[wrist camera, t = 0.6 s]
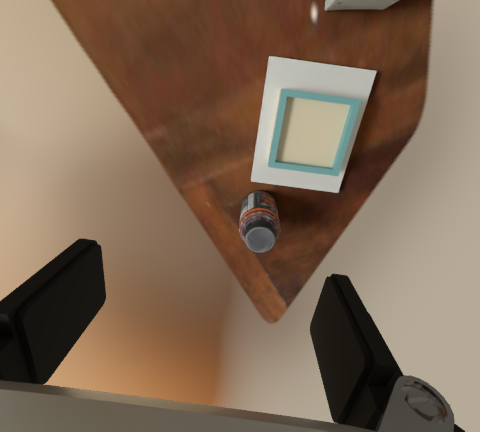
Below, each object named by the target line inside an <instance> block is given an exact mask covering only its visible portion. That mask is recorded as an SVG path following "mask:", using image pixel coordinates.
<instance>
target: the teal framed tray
mask: <svg viewBox="0 0 480 432" xmlns="http://www.w3.org/2000/svg"><path fill="white" fill-rule="evenodd" d="M376 72H377V71H373V70H366V69H359V68H352V67H345V66H337V65H330V64H323V63H316V62H309V61H302V60H295V59H287V58H280V57H273V56H269V60H268V67H267V74H266V81H265V87H264V94H263V101H262V108H261V114H260V121H259V128H258V135H257V141H256V148H255V155H254V161H253V168H252V175H251V181H252V182H259V183H267V184H275V185H282V186H290V187H297V188H305V189H312V190H320V191H328V192H335V193H338V192H339V189H340V186H341V183H342V179H343V176H344V173H345V170H346V167H347V164H348V160H349V157H350V154H351V151H352V148H353V145H354V142H355V138H356V135H357V132H358V129H359V126H360V123H361V119H362V116H363V113H364V110H365V107H366V104H367V101H368V97H369V94H370V91H371V88H372V85H373V82H374V78H375V75H376Z"/></svg>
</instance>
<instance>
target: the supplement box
mask: <svg viewBox="0 0 480 432" xmlns="http://www.w3.org/2000/svg"><path fill="white" fill-rule="evenodd" d="M397 1H399V0H326V2H325V11H331V10H346V9H380V10H383V9H385V8H387V7H388V6H390V5H392V4H394V3H396V2H397Z"/></svg>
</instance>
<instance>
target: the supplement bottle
mask: <svg viewBox="0 0 480 432" xmlns="http://www.w3.org/2000/svg"><path fill="white" fill-rule="evenodd" d="M280 231H281V226H280V220H279V215H278V210H277V205H276V202H275V199H274V198H273V196H272V195H270V194H269V193H267V192H265V191H254V192H251V193H249V194H248V195H247V196H246V197H245V198H244V200H243V202H242V206H241V214H240V223H239V233H240V236H241V238H242V239H243V241H244V242H245V243H246V245H247V247H248V248H249V249H250V250H252V251H254V252H260V253H261V252H266V251H268V250H270V249H271V248H272V247H273V245H274V243H275V241H276V240H277V239H278V237H279V235H280Z"/></svg>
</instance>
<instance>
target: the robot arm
mask: <svg viewBox="0 0 480 432" xmlns="http://www.w3.org/2000/svg"><path fill="white" fill-rule="evenodd" d="M105 299H106V292H105V281H104V271H103V261H102V251H101V246H100V245H98V244H97V242H96V241H95V240H88V239H78V240H77V241H76V242H75V243H73V244H72V245H71V246H69V247H68V248H67V249H66V250H64V251H63V252H62V253H60V254H59V255H58V256H57V257H55V258H54V259H53V260H52V261H50V262H49V263H48V264H47V265H45V266H44V267H43V268H42V269H40V270H39V271H38V272H37V273H35V274H34V275H33V276H31V277H30V278H29V279H28V280H26V281H25V282H24V283H23V284H21V285H20V286H19V287H18V288H16V289H15V290H14V291H13V292H11V293H10V294H9V295H8V296H6V297H5V298H4V299H2V300H1V301H0V432H465V431H464V430H462V429H461V428H460V427H458V426H457V425H456V424H454V414H453V412H452V410H451V407H450V405H449V404H448V403H447V401H446V400H445V399H444V397H443V396H442V395H441V394H440V393H439V392H438V391H437V390H436V389H435V388H433V387H432V386H431V385H429V384H428V383H427V382H424V381H423V380H421V379H419V378H416V377H413V376H405V375H403V373H402V372H401V370H400V368H399V366H398V364H397V363H396V361H395V359H394V357H393V356H392V354H391V352H390V350H389V348H388V346H387V345H386V343H385V341H384V339H383V337H382V335H381V334H380V332H379V330H378V328H377V327H376V325H375V323H374V321H373V320H372V317H371V316H370V314H369V313H368V312H367V310H366V308H365V307H364V305H363V303H362V301H361V299H360V297H359V296H358V294H357V292H356V290H355V288H354V286H353V285H352V283H351V281H350V279H349V278H348V276H346V275H339V274H332V275H331V276H330V277H327V278H326V280H325V283H324V286H323V289H322V292H321V295H320V298H319V301H318V304H317V306H316V309H315V312H314V315H313V318H312V321H311V325H310V333H311V337H312V341H313V345H314V349H315V353H316V357H317V361H318V365H319V369H320V373H321V377H322V381H323V385H324V389H325V392H326V397H327V400H328V404H329V408H330V412H331V416H332V419H333V421H334V422H335V423H330V422H324V421H317V420H310V419H304V418H298V417H290V416H282V415H275V414H268V413H261V412H253V411H246V410H239V409H231V408H224V407H216V406H208V405H201V404H193V403H186V402H178V401H170V400H163V399H154V398H147V397H139V396H131V395H123V394H115V393H107V392H99V391H91V390H82V389H74V388H66V387H59V386H51V385H43V384H45V383H46V382H47V381H48V380H49V378H50V377H51V376H52V374H53V373H54V372H55V370H56V369H57V367H58V366H59V365H60V363H61V362H62V361H63V359H64V358H65V357H66V355H67V354H68V352H69V351H70V350H71V348H72V347H73V346H74V344H75V343H76V341H77V340H78V339H79V337H80V336H81V334H82V333H83V332H84V331H85V329H86V328H87V326H88V325H89V324H90V322H91V321H92V319H93V318H94V317H95V316H96V314H97V313H98V311H99V310H100V309H101V307H102V306H103V304H104V302H105ZM337 423H338V424H337Z"/></svg>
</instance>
